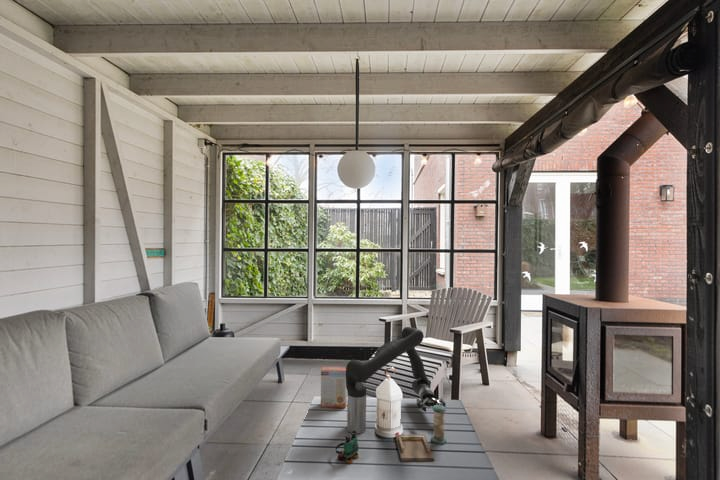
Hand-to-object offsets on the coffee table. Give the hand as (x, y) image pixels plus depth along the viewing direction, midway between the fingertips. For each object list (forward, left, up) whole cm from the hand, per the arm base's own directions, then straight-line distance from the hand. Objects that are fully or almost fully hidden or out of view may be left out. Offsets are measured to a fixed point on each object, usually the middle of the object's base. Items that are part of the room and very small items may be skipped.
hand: (433, 409), depth 194 cm
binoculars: (-43, -25, -10) cm, 51 cm away
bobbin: (0, -11, -9) cm, 15 cm away
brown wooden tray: (-13, -18, -9) cm, 24 cm away
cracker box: (-50, +28, -10) cm, 58 cm away
